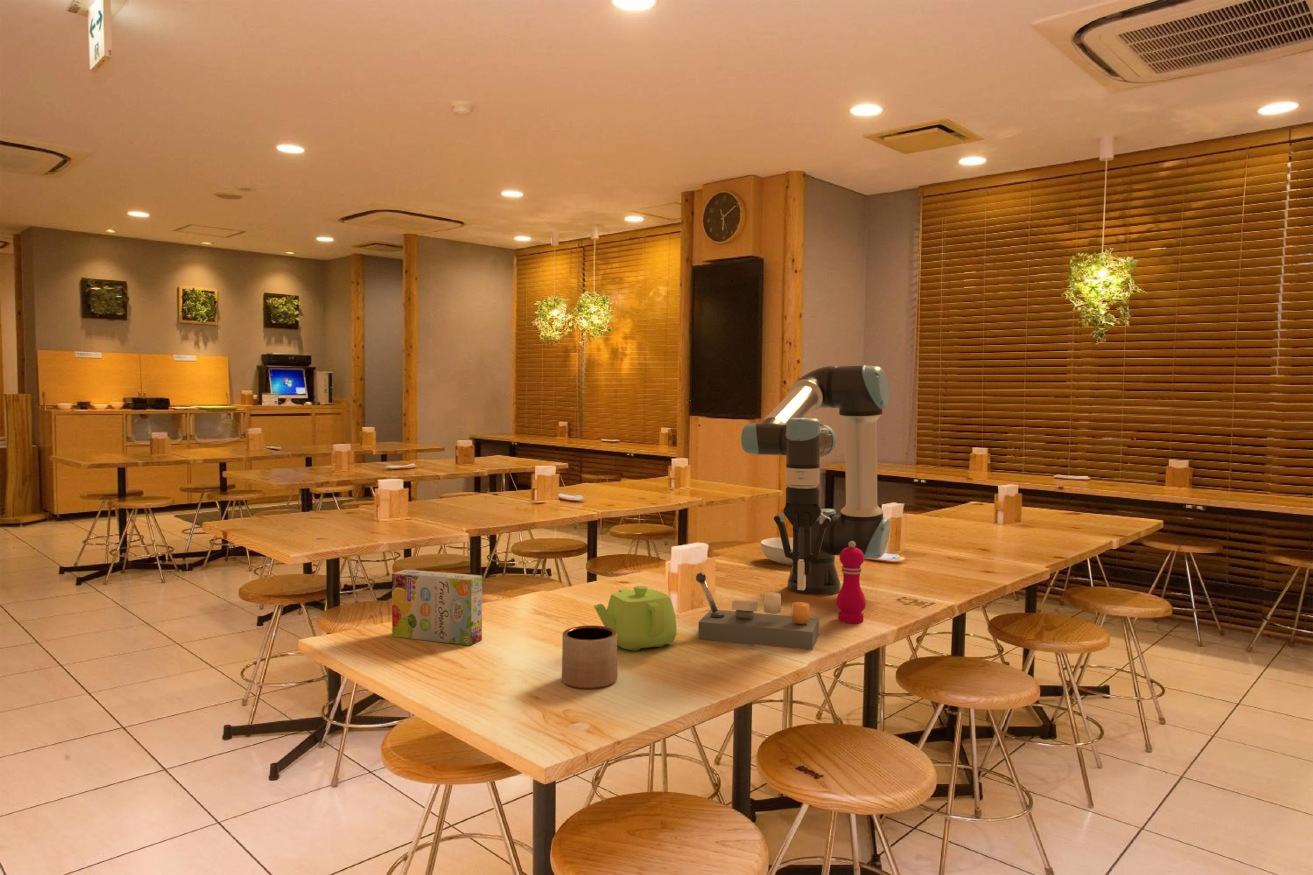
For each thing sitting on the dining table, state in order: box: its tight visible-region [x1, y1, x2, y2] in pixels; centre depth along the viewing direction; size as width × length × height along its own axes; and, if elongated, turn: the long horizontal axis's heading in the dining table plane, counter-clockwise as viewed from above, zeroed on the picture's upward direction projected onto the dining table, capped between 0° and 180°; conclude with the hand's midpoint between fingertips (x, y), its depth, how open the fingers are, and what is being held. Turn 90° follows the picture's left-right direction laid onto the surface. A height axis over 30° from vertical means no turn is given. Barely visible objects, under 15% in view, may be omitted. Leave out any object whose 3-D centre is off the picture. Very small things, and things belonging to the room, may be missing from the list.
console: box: [698, 609, 820, 651], centre depth 193 cm, size 12×26×6 cm, turn 72°
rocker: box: [731, 599, 758, 612], centre depth 194 cm, size 10×4×2 cm, turn 162°
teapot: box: [593, 585, 677, 652], centre depth 186 cm, size 18×20×13 cm
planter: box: [561, 625, 618, 690], centre depth 163 cm, size 11×11×10 cm
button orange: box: [791, 601, 810, 624], centre depth 190 cm, size 4×4×4 cm
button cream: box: [763, 591, 782, 615], centre depth 192 cm, size 4×4×4 cm
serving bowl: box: [760, 537, 793, 566], centre depth 280 cm, size 21×21×7 cm
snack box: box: [391, 569, 483, 646], centre depth 190 cm, size 21×6×15 cm, turn 71°
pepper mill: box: [835, 541, 867, 624], centre depth 208 cm, size 7×7×20 cm
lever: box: [695, 572, 719, 613], centre depth 196 cm, size 2×2×10 cm
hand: (801, 588), depth 190 cm, fingers closed
